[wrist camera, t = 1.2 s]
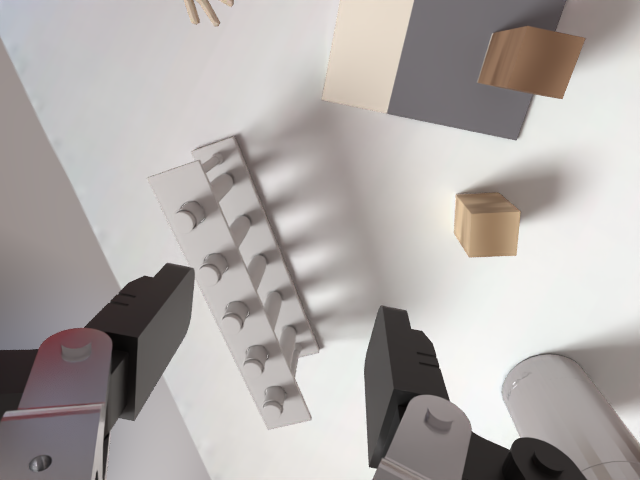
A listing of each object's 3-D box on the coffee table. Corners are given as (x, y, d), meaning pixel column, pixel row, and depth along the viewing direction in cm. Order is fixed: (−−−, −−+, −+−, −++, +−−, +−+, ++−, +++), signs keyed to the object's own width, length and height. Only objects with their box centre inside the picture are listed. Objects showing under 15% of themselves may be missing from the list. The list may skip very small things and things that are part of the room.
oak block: (498, 192, 43) (520, 211, 37) (495, 231, 44) (516, 255, 39) (455, 194, 43) (471, 213, 38) (453, 233, 45) (469, 257, 39)
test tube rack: (193, 150, 43) (131, 185, 31) (234, 135, 43) (188, 165, 30) (283, 357, 52) (263, 450, 39) (319, 348, 51) (310, 439, 39)
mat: (566, -7, 37) (568, -8, 36) (514, 139, 41) (516, 140, 41) (350, -53, 36) (350, -54, 36) (321, 99, 41) (321, 100, 40)
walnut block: (538, 42, 38) (585, 38, 30) (521, 92, 39) (562, 99, 32) (492, 33, 38) (527, 25, 30) (476, 82, 39) (507, 87, 32)
